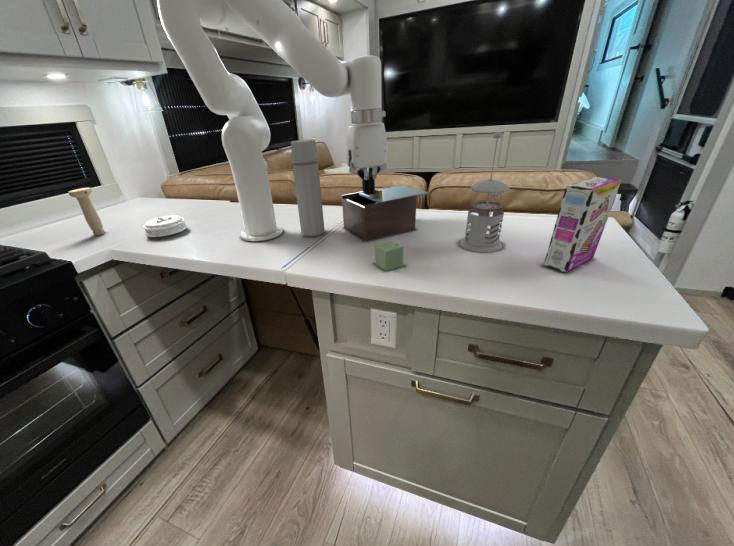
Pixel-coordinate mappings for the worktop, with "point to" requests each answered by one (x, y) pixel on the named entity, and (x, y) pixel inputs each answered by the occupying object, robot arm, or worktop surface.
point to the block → (389, 255)
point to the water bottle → (307, 186)
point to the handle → (88, 209)
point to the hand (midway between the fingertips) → (368, 193)
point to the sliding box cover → (393, 193)
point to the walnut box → (378, 216)
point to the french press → (485, 215)
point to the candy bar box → (581, 222)
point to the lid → (164, 226)
